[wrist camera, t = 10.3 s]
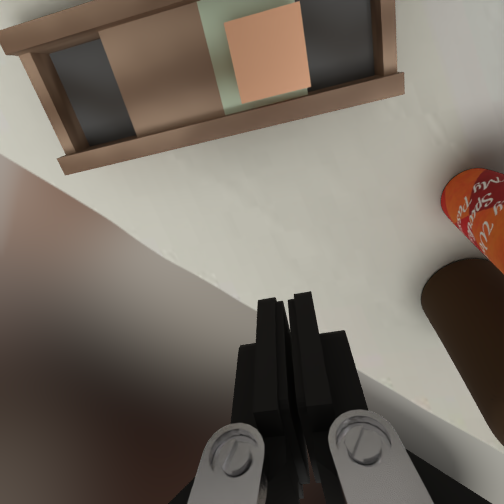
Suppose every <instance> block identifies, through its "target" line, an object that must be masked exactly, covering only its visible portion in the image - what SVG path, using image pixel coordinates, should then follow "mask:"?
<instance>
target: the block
mask: <svg viewBox="0 0 504 504" xmlns="http://www.w3.org/2000/svg"><path fill="white" fill-rule="evenodd" d="M224 27H225V31H226V36H227V40H228V45H229V49H230V54H231V58H232V63H233V67H234V72H235V76H236V81H237V85H238V89H239V94H240V98H241V103H242V104H244V103H248V102H252V101H256V100H260V99H264V98H268V97H272V96H276V95H280V94H284V93H288V92H292V91H296V90H300V89H304V88H308V87H311V82H310V74H309V67H308V59H307V52H306V45H305V37H304V30H303V22H302V15H301V7H300V1H298V2H294V3H291V4H287V5H284V6H280V7H277V8H273V9H270V10H266V11H263V12H259V13H256V14H252V15H249V16H245V17H242V18H238V19H235V20H231V21H228V22H224Z"/></svg>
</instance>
